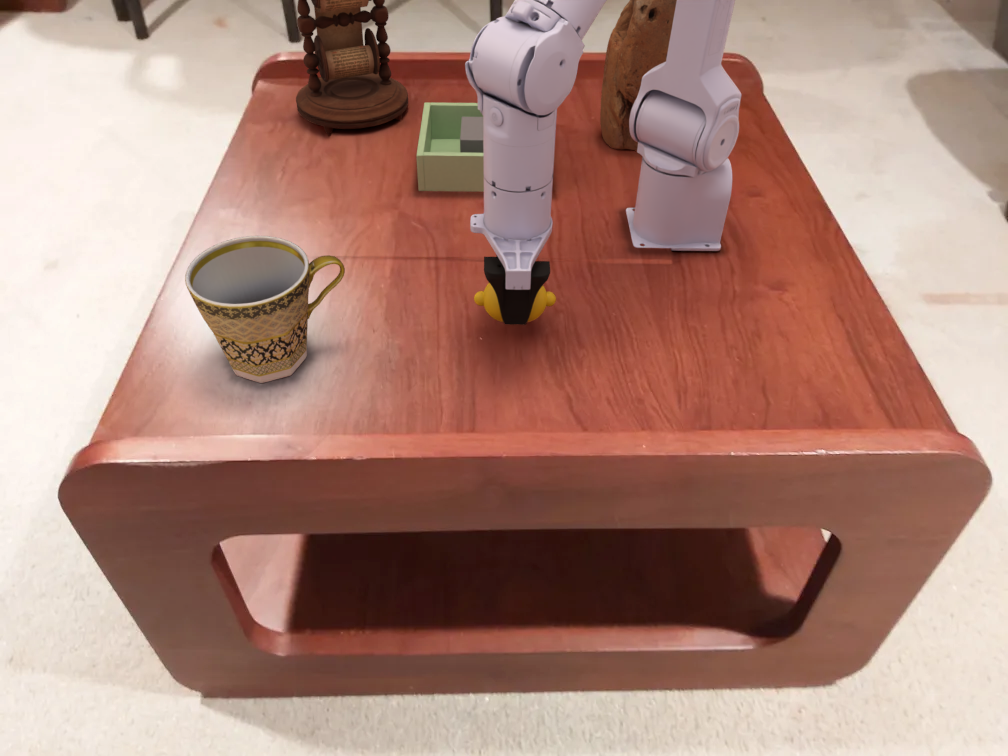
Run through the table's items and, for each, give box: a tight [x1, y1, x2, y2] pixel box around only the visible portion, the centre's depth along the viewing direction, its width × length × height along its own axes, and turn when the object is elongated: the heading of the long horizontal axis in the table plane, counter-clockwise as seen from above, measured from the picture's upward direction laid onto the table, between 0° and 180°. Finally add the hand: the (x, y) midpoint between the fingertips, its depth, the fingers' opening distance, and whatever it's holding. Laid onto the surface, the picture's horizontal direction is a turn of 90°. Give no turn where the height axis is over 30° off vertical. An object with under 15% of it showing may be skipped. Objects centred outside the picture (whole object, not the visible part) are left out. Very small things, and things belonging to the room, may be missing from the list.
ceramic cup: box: [184, 235, 346, 384], centre depth 72 cm, size 13×10×10 cm
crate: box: [415, 101, 555, 193], centre depth 99 cm, size 16×14×5 cm
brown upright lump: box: [599, 0, 677, 152], centre depth 99 cm, size 11×8×20 cm
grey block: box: [460, 117, 483, 153], centre depth 99 cm, size 6×6×4 cm
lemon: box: [473, 282, 557, 323], centre depth 76 cm, size 8×4×4 cm, turn 90°
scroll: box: [295, 0, 409, 136], centre depth 104 cm, size 15×15×20 cm
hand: (514, 305), depth 77 cm, fingers closed on lemon, 4 cm apart
